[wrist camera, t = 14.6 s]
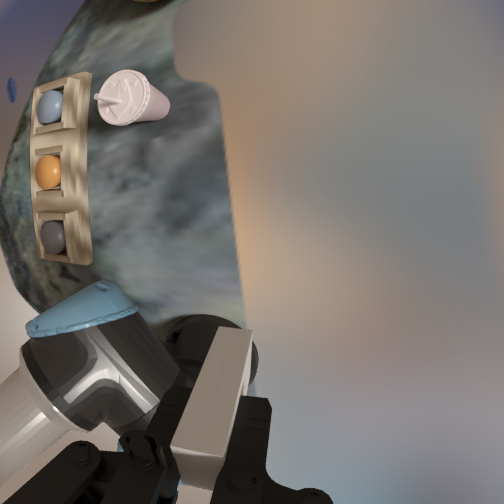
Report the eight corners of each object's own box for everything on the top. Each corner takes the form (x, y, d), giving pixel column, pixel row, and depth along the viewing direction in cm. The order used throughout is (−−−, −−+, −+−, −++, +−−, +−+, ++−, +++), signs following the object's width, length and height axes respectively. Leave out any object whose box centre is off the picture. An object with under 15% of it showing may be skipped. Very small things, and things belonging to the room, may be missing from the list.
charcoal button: (73, 250, 40) (63, 255, 38) (52, 248, 41) (42, 253, 38) (69, 219, 39) (59, 223, 36) (48, 218, 39) (38, 222, 37)
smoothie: (134, 129, 36) (68, 125, 23) (140, 85, 34) (78, 64, 21) (176, 130, 36) (120, 122, 22) (182, 84, 33) (130, 55, 20)
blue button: (67, 120, 34) (56, 120, 31) (46, 125, 34) (35, 125, 32) (70, 88, 32) (59, 86, 30) (48, 95, 33) (38, 94, 30)
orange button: (67, 186, 37) (56, 189, 35) (46, 187, 37) (35, 190, 35) (66, 153, 35) (55, 154, 33) (45, 156, 36) (34, 157, 33)
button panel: (93, 261, 43) (77, 271, 39) (46, 254, 45) (30, 262, 40) (92, 73, 34) (74, 68, 29) (41, 89, 35) (24, 87, 31)
